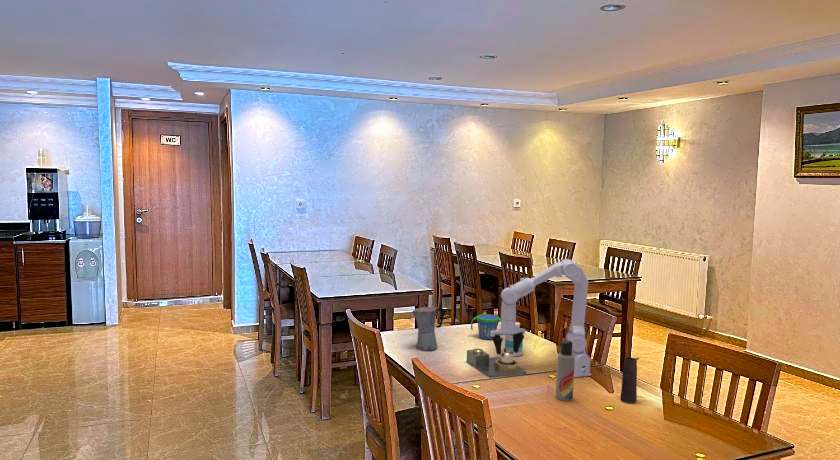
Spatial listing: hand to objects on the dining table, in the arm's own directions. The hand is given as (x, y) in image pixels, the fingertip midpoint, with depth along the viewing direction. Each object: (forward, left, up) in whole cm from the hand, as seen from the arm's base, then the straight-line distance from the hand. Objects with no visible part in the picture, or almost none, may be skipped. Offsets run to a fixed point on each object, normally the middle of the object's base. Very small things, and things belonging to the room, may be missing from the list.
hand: (507, 353), depth 231 cm
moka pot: (+35, +19, -7) cm, 41 cm away
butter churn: (-42, -25, -7) cm, 49 cm away
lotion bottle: (-33, -4, -7) cm, 34 cm away
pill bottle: (+17, -13, -7) cm, 22 cm away
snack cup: (+43, -14, -7) cm, 46 cm away
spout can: (0, 0, -6) cm, 6 cm away
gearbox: (+3, +3, -7) cm, 8 cm away
